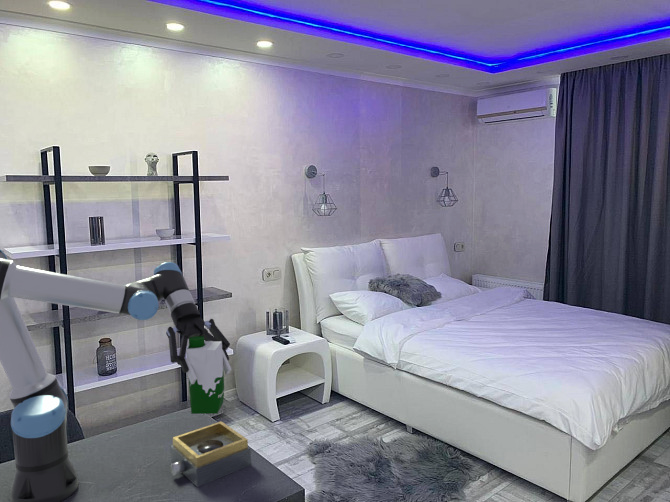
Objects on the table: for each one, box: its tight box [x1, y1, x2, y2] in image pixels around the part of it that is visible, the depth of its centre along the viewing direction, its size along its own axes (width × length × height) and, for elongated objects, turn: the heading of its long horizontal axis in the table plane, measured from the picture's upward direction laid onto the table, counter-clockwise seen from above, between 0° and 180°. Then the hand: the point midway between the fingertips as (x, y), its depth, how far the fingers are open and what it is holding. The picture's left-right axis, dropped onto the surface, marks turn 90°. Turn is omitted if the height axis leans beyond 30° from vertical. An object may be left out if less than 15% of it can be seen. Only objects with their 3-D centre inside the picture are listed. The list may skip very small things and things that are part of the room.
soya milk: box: [186, 336, 225, 415], centre depth 142 cm, size 9×9×20 cm
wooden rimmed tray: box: [169, 421, 252, 488], centre depth 143 cm, size 19×16×8 cm
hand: (211, 376), depth 140 cm, fingers closed on soya milk, 9 cm apart
